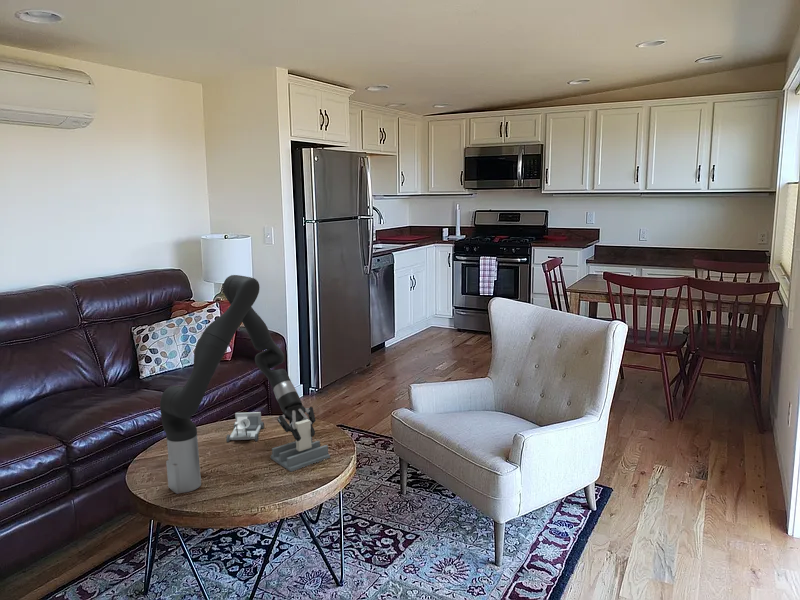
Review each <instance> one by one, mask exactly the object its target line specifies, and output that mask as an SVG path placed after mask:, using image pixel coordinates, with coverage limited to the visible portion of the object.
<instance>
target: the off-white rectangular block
mask: <svg viewBox="0 0 800 600" xmlns="http://www.w3.org/2000/svg"><path fill="white" fill-rule="evenodd" d="M308 419H309V418H308ZM308 419H306V420H303V421H299V422H296V423H295V426H296V429H297V431H298V432H299V435H300V437H301V439H300V441H297V440H295V441H296V450H298V451H299V452H300V451H303V450H306V449H309V448H312V444H311V424H310V420H308Z"/></svg>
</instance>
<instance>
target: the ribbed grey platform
mask: <svg viewBox="0 0 800 600" xmlns="http://www.w3.org/2000/svg"><path fill="white" fill-rule="evenodd" d="M311 444H312V448H309V449H306V450H303V451H300V452H299V451H298V450H296V440H294V441H291V442H288V443H285V444H281V445H278V446H275V447H272V448H271V455H270V459H271V460H272V461H274V462H275V463H277V464H278V465H280V466H281V467H283V468H284V469H286V470H287V471H289V472H294V471H297V470H300V469H302V467H303V468H305V466H306V467H308V465H309V466H311V465H310V464H312V465H314V464H313V463H315V464H317V463H320V462H323V461H325V460H324V459H326V460H328V459H327V458H329V459H331V454H330V453H329V445H327V444H325V445H321V441H320V440H316V441H313V437H311ZM322 460H323V461H322ZM319 461H320V462H319ZM316 462H317V463H316Z"/></svg>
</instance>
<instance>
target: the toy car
mask: <svg viewBox="0 0 800 600" xmlns="http://www.w3.org/2000/svg"><path fill="white" fill-rule="evenodd" d="M234 417H235V422H234V423H233V430H232V432H231V434H227V435H226V443H230V441H241V440H242V441H243V440H244V441H245V440H254V441H255V442H258V441H259V433H260V431H261V430H264V428H265V422H264V421H262V413H261V411H256V412H255V411H252V412H251V411H249V412H235V413H234Z"/></svg>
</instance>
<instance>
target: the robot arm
mask: <svg viewBox="0 0 800 600" xmlns="http://www.w3.org/2000/svg"><path fill="white" fill-rule="evenodd" d="M260 288H261V287H260V284H259V281H258V280H257V279H256V278H255V277H250V276H246V275H245V276H244V275H241V274H240V275H239V274H231V275H229V276H227V277H226V278H225V280H224V282H223V284H222V291H223V294H224V297H225V299H226V300H227V302H228V303H229V304H230V305H229V307H228V308H227V309H226V310H225V312H224V313H222V314H220V316H218V317H217V318H216V319H214V320H213V321H212V322H211V323H210V324H209V325H208V326H207V327H205V329H204V330H203V332H202V334H201V335H200V338H199V339H198V341H197V343H196V345H195V348H194V353H193V366H192V367H193V368H192V372H191V374H190V375H189V378H188V380H187V381H186V384H185V385H184V387H183V386H178V385H171V386H169V387H167V388H166V389H165V390H164V391H163V392H162V394H161V397H160V401H159V405H160V406H159V407H160V408H159V409H160V415H161V416H160V417H161V425H162V428H163V431H164V432H165V436H166V445H167V446H166V447H167V455H168V456H167V457H168V458H167V460H166V461H165V462H166V474H167V485H168V486H167V487H168V489H169V488H170V489H169V490H171V491H172V492H173V493H175V494H181V493H189V492H192V491H195V490H197V489H198V488H200V487H201V486H202V477H201V468H200V467H201V465H200V464H201V463H200V455H199V454H200V453H199V452H200V451H199V444H198V443H199V441H198V429H197V425H196V424H195V423H194V422H193V420H191V418H192V417H193V416H194V415H195V413H197V411H198V409H199V408H200V406H201V404H202V402H203V398H204V397H205V394H206V392H207V389H208V387H209V384H210V382H211V380H212V378H213V376H214V374H215V372H216V370H217V368H218V366H219V364H220V362H221V360H222V359H223V356H224V355H225V353H226V352H227V349H228V348H229V346H230V344H231V342H232V341H233V337H234V336H235V334H236V332H237V330H238V329H239V327H240V325H241V323H242V324H243V326H244V328H245V330H246V332H247V335H248V337H249V339H250V342H251V343H252V346H253V347H254V349H255V350H257V351H259V353H257V354H256V355H255V357H254V363H255V365H256V366H257V367H258V369H259V370H260V372H262V373H263V375H264V376H265V377H266V379H267V380H268V382H269V384H270V386H271V389H272V390H273V393H274V396H275V399H276V401H277V403H278V406H279V407H280V410H281V412H282V415H281V414H280V415H279V416H278V417H277V419H276V421H277V422H278V424H279V425H280V426H281V428H282V429H283V430H284V432H286V433H291V432H292V433H291V434H292V436H293V439H294V441H296V440H297V441H300V439H301V437H300V435H299V432H298V431H297V429H296V426H295V423H296V422H298V421H303V420H306V419H308V420H310V424H311V437H312V438H313V437H314V436H315V434H316V430H315V428H314V426H313V425H314V424H315V422H316V417H315V412H314V408H313V407H312V406H310V407H305V406H304V405H303V402H302V400H301V398H300V396H299V393H298V391H297V389H296V387H295V386H294V383H293V382H292V380H291V378H290V376H289V374H288V372H287V371H286V369H285V368H277V369H273V368H275V367H277V366H279V365H281V364H283V363H284V361H285V353H284V352H283V350H282V349H281V348H280V347H279V346H278V345H277V344H276V342H275V341H274V339H273V338H272V335H271V333H270V330H269V329H268V326H267V324H266V323H265V321H264V319H262V317H261V316H260V315H259V313H257V312H256V311H255V309H254V308H253V307H252V306H253V305H254V304H255V302H256V300H257V298H258V296H259V293H260ZM260 351H261V352H260ZM303 418H304V419H303ZM287 420H288V421H287Z"/></svg>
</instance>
